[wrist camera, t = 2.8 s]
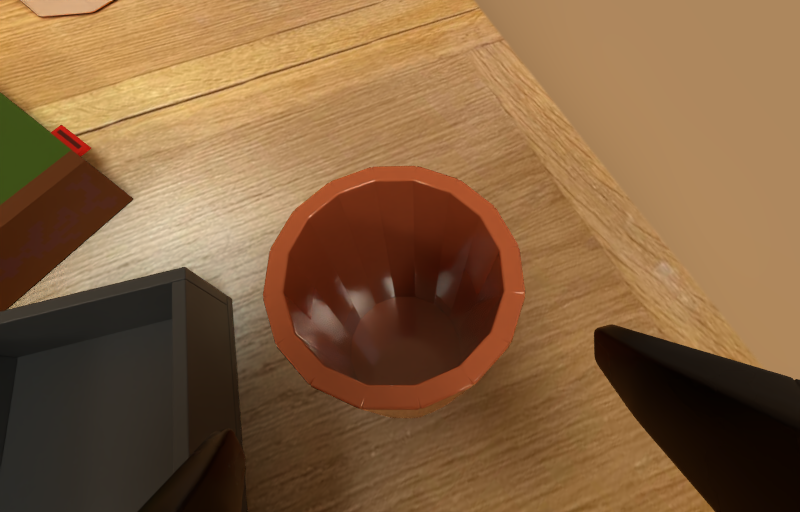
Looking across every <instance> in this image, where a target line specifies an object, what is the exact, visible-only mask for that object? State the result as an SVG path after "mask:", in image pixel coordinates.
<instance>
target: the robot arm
mask: <svg viewBox="0 0 800 512" xmlns="http://www.w3.org/2000/svg"><path fill="white" fill-rule="evenodd" d="M594 354H595V360H596V362H597V364H598V366H599V367H600V369H601V370H602V372H603V373H604V375H605V376H606V377H607V379H608V380H609V382H610V383H611V385H612V386H613V387H614V389H615V390H616V392H617V393H618V395H619V396H620V397H621V399H622V400H623V402H624V403H625V404H626V406H627V407H628V409H629V410H630V411H631V413H632V414H633V416H634V417H635V418H636V419H637V421H638V422H639V423H640V424H641V426H642V427H643V428H644V429H645V430H646V431H647V433H648V434H649V435H650V436H651V437H652V438H653V440H654V441H655V442H656V443H657V444H658V445H659V447H660V448H661V449H662V450H663V451H664V452H665V454H666V455H667V456H668V457H669V458H670V459H671V461H672V462H673V463H674V464H675V465H676V466H677V468H678V469H679V470H680V471H681V472H682V473H683V475H684V476H685V477H686V478H687V479H688V480H689V482H690V483H691V484H692V485H693V486H694V487H695V489H696V490H697V491H698V492H699V493H700V494H701V496H702V497H703V498H704V499H705V500H706V501H707V503H708V504H709V505H710V506H711V507H712V508H713V510H714V511H715V512H800V380H798V379H796V380H793V378H791V377H788V376H785V375H781V374H778V373H774V372H771V371H767V370H764V369H761V368H758V367H754V366H751V365H747V364H744V363H741V362H737V361H734V360H731V359H727V358H724V357H720V356H717V355H714V354H710V353H707V352H704V351H700V350H697V349H693V348H690V347H687V346H683V345H680V344H677V343H673V342H670V341H666V340H663V339H660V338H656V337H653V336H650V335H646V334H643V333H640V332H636V331H633V330H629V329H626V328H623V327H619V326H616V325H607V326H603V327H599V328H597V329H596V330H595V332H594ZM245 464H246V461H245V454H244V452H243V449H242V447H241V445H240V443H239V441H238V439H237V437H236V435H235V433H234V432H233V430H232V429H229V428H227V429H223V430H220V431H216V432H213V433H211V434H210V435H209V436H208V437H207V438H206V439H205V441H204V442H203V443H202V444H201V445H200V446H199V447H198V448H197V449H196V450H195V451H194V452H193V453H192V454H191V455H190V456H189V457H188V458H187V460H186V461H185V462H184V463H183V464H182V465H181V466H180V467H179V468H178V469H177V470H176V471H175V472H174V473H173V474H172V475H171V476H170V478H169V479H168V480H167V481H166V482H165V483H164V484H163V485H162V486H161V487H160V488H159V489H158V490H157V491H156V492H155V493H154V494H153V496H152V497H151V498H150V499H149V500H148V501H147V502H146V503H145V504H144V505H143V506H142V507H141V508H140V509H139V510H138V511H137V512H241V508H242V497H243V486H244V475H245Z"/></svg>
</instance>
